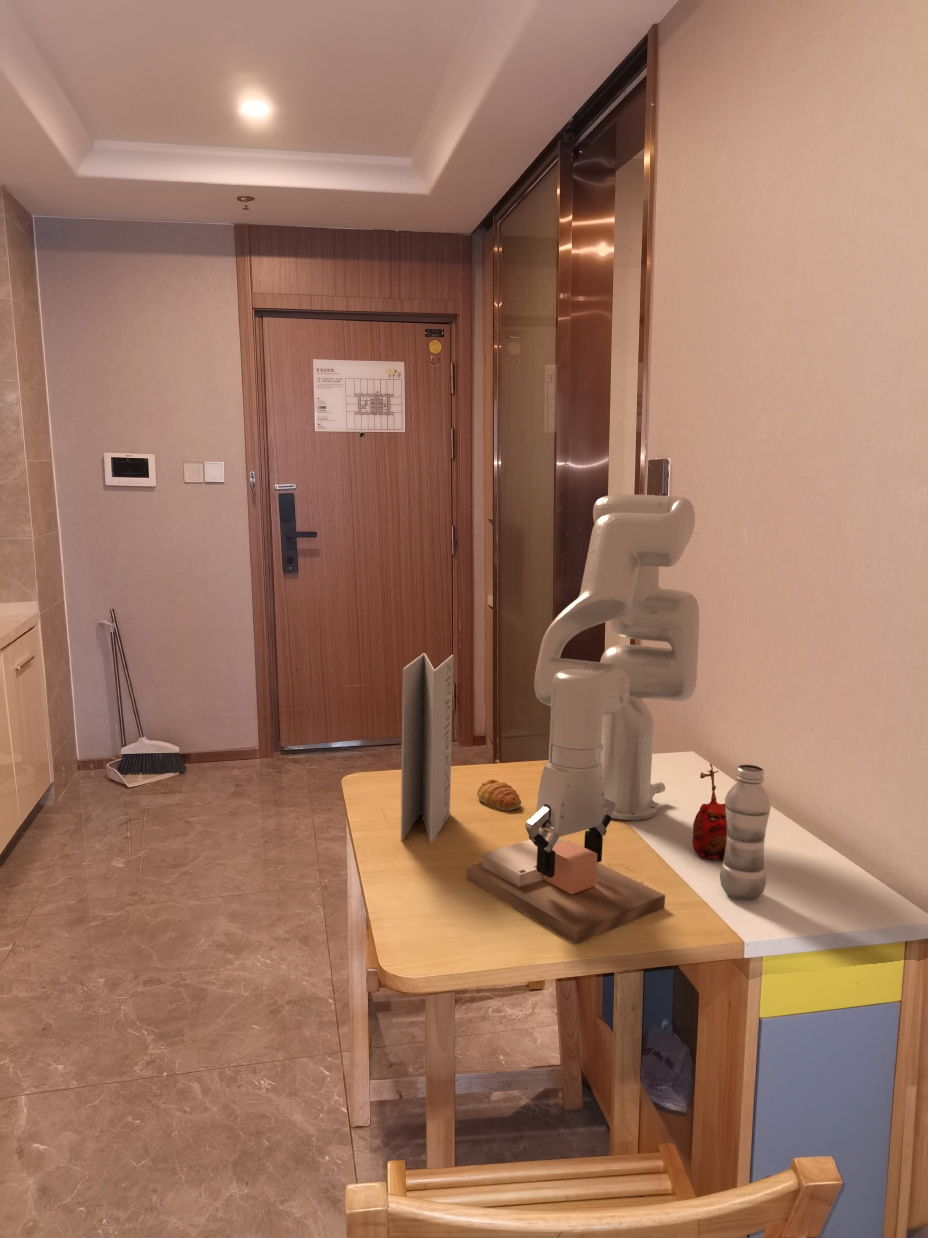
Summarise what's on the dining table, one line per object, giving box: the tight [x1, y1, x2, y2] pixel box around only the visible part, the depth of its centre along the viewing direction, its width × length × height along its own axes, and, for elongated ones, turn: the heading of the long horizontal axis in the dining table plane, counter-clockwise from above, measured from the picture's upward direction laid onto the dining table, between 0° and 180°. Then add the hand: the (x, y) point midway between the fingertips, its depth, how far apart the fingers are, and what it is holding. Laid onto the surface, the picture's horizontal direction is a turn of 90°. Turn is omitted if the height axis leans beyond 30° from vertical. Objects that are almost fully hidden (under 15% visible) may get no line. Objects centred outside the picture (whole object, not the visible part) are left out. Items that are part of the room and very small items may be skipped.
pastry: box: [476, 779, 522, 812], centre depth 172 cm, size 9×7×4 cm
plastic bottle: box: [719, 763, 772, 900], centre depth 135 cm, size 6×7×20 cm
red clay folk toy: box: [691, 763, 727, 861], centre depth 150 cm, size 8×7×15 cm
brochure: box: [400, 652, 454, 844], centre depth 158 cm, size 14×6×30 cm, turn 168°
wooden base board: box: [466, 833, 666, 945], centre depth 135 cm, size 18×24×4 cm
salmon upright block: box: [544, 840, 597, 894], centre depth 134 cm, size 5×6×5 cm
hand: (569, 866), depth 134 cm, fingers open, 9 cm apart
